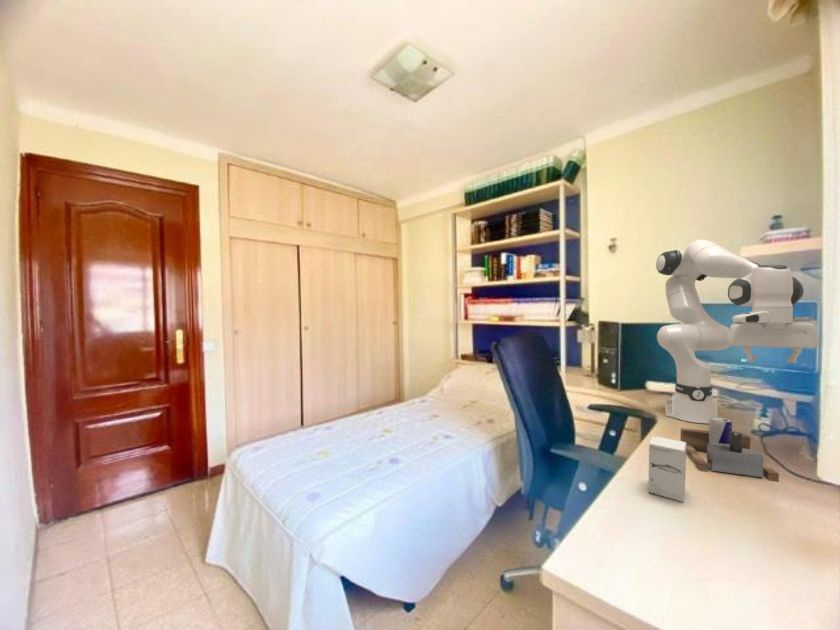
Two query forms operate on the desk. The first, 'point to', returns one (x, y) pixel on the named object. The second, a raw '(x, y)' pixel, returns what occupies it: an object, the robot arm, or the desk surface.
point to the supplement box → (667, 467)
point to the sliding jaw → (735, 458)
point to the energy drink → (719, 431)
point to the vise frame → (698, 443)
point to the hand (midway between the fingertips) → (771, 361)
